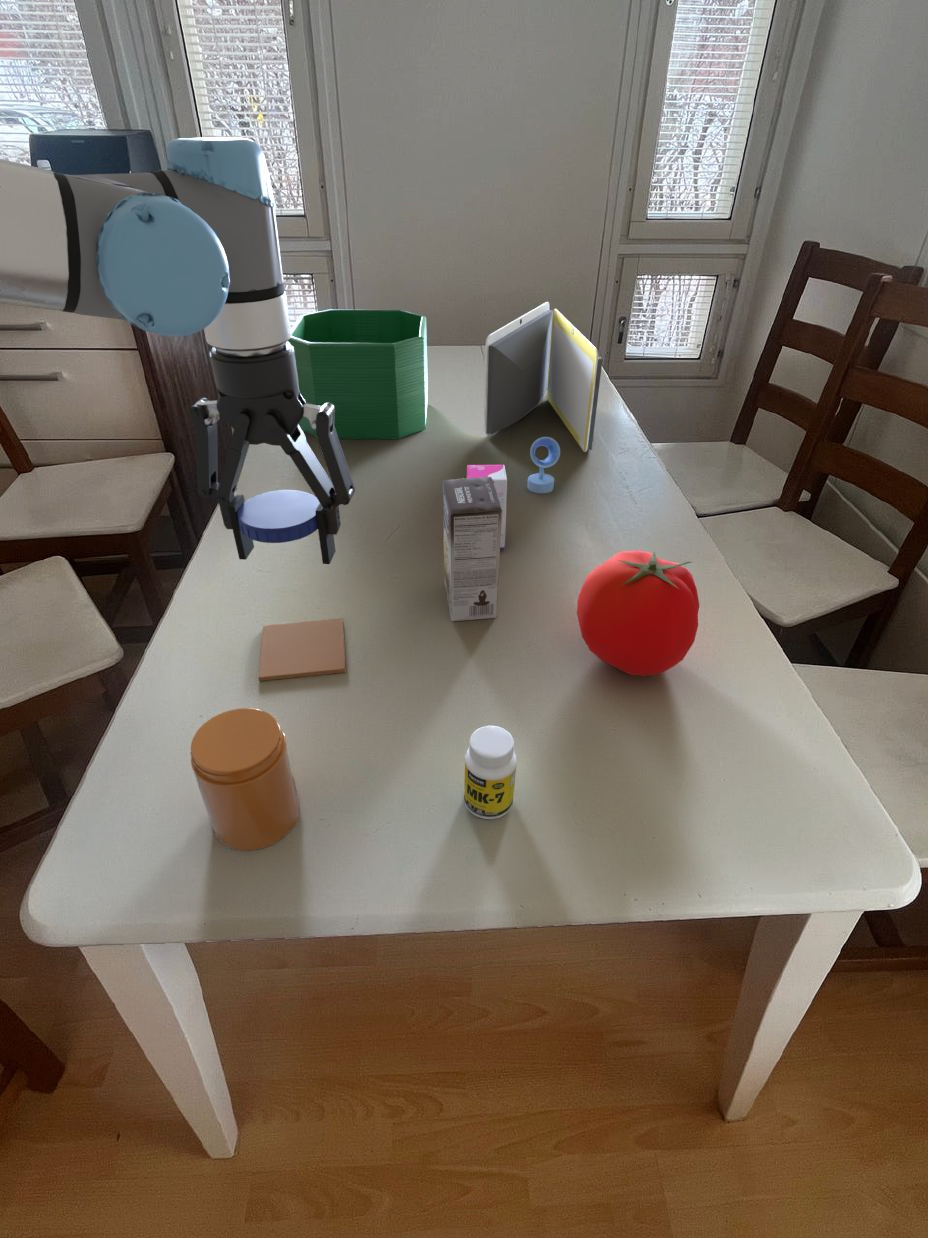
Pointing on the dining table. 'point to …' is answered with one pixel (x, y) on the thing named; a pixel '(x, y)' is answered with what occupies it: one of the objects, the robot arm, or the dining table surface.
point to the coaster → (302, 649)
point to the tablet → (542, 373)
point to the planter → (364, 370)
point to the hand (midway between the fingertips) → (287, 555)
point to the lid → (278, 516)
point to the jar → (245, 778)
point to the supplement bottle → (490, 772)
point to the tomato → (639, 612)
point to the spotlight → (543, 466)
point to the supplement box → (500, 485)
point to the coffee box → (471, 547)
